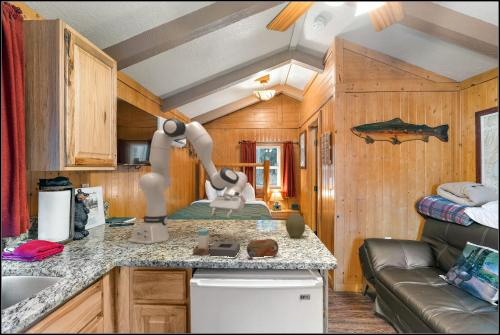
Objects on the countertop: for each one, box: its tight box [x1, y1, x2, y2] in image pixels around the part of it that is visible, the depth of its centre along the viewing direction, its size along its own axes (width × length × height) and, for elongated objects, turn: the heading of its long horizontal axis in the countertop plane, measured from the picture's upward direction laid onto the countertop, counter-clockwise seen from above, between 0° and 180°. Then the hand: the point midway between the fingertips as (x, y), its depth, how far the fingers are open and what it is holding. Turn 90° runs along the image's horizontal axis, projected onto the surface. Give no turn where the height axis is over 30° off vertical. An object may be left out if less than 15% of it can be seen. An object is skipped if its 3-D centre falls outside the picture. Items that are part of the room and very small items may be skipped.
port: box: [209, 241, 241, 257], centre depth 121 cm, size 12×12×4 cm
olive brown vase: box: [285, 211, 306, 239], centre depth 152 cm, size 11×11×15 cm
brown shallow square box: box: [192, 244, 214, 256], centre depth 123 cm, size 8×8×3 cm
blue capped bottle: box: [197, 228, 210, 249], centre depth 123 cm, size 4×4×11 cm
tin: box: [246, 238, 279, 258], centre depth 117 cm, size 15×3×8 cm, turn 106°
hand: (219, 216), depth 133 cm, fingers open, 8 cm apart
